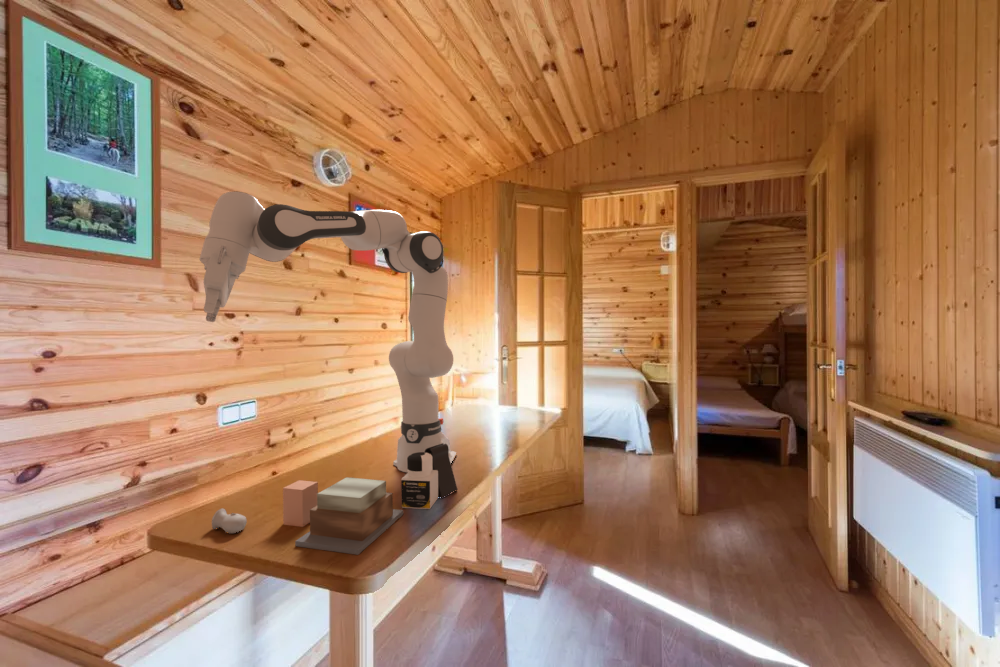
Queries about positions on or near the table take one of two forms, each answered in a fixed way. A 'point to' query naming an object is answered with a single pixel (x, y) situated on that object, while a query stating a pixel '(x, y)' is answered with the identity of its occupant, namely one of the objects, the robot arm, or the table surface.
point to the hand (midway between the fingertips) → (209, 317)
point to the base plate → (345, 544)
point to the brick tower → (351, 509)
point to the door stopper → (442, 469)
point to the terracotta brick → (299, 502)
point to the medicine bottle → (419, 482)
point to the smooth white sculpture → (228, 521)
